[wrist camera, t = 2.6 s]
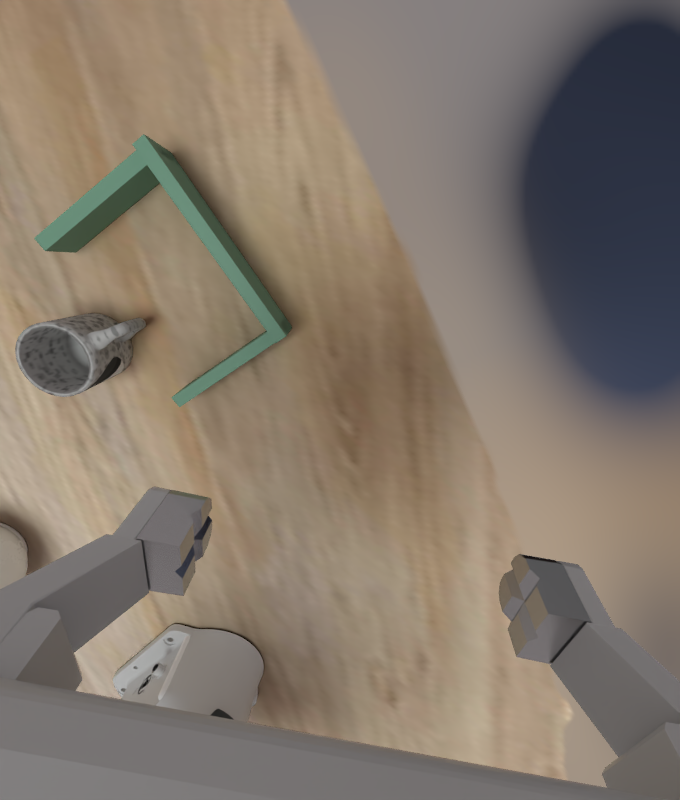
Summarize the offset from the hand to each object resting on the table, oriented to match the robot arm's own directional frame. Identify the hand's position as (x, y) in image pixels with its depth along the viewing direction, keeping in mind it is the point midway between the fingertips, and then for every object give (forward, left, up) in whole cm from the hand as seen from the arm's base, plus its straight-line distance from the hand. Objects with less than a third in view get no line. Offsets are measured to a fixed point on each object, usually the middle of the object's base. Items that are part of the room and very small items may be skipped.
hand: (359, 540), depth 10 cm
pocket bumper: (-11, +13, -31) cm, 35 cm away
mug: (-20, +13, -31) cm, 39 cm away
